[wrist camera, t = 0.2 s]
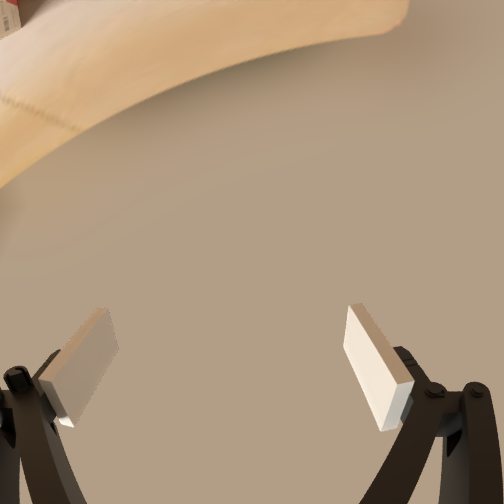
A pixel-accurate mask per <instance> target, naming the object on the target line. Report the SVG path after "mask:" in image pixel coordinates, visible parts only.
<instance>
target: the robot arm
mask: <svg viewBox="0 0 504 504" xmlns="http://www.w3.org/2000/svg"><path fill="white" fill-rule="evenodd" d="M343 347H344V350H345V352H346V354H347V356H348V358H349V361H350V363H351V365H352V367H353V369H354V372H355V374H356V376H357V378H358V381H359V383H360V385H361V387H362V389H363V392H364V394H365V397H366V399H367V401H368V403H369V406H370V408H371V410H372V413H373V415H374V417H375V420H376V422H377V424H378V427H379V429H380V431H381V432H382V431H386V430H391V429H395V428H397V426H398V424H399V421H400V419H401V421H402V423H403V426H402V428H401V431H400V432H399V434H398V436H397V439H396V441H395V442H394V445H393V446H392V448H391V451H390V452H389V455H388V456H387V458H386V460H385V461H384V463H383V465H382V467H381V469H380V470H379V472H378V474H377V476H376V477H375V479H374V481H373V482H372V484H371V486H370V487H369V489H368V490H367V492H366V494H365V495H364V497H363V499H362V500H361V501H360V503H359V504H407V503H408V501H409V499H410V497H411V495H412V493H413V491H414V489H415V486H416V484H417V482H418V480H419V477H420V475H421V472H422V470H423V468H424V465H425V463H426V460H427V458H428V455H429V453H430V450H431V447H432V445H433V442H434V439H435V437H443V454H442V472H441V485H440V496H439V504H503V479H502V467H501V456H500V447H499V440H498V432H497V426H496V420H495V414H494V409H493V404H492V399H491V395H490V391H489V389H488V388H487V387H486V386H485V385H484V384H482V383H479V382H470V383H468V384H466V386H465V387H464V389H463V391H461V392H460V391H457V392H449V391H447V390H446V388H445V387H444V386H442V385H441V384H439V383H436V382H431V381H430V380H429V378H428V377H427V376H426V374H425V373H424V371H423V370H422V368H421V367H420V366H419V365H418V363H417V361H416V360H414V357H413V356H412V355H411V353H410V352H409V351H408V350H406V349H405V348H403V347H402V346H399V347H392V346H391V345H390V343H389V341H388V340H387V339H386V337H385V336H384V334H383V333H382V331H381V330H380V328H379V327H378V325H377V324H376V323H375V321H374V320H373V318H372V317H371V316H370V314H369V313H368V311H367V310H366V308H365V307H364V306H363V304H349V308H348V316H347V324H346V331H345V338H344V346H343ZM118 350H119V348H118V344H117V341H116V337H115V333H114V329H113V325H112V321H111V317H110V313H109V309H108V308H97V309H96V310H95V311H94V312H93V313H92V314H91V316H90V317H89V318H88V319H87V320H86V321H85V323H84V324H83V325H82V326H81V327H80V328H79V329H78V331H77V332H76V333H75V334H74V335H73V336H72V338H71V339H70V340H69V341H68V342H67V344H66V345H65V346H64V347H63V348H62V350H60V349H59V350H57V351H56V352H54V353H53V354H51V355H50V356H49V358H48V359H47V360H46V362H45V363H44V364H43V365H42V366H41V367H40V368H39V370H38V371H37V372H36V373H35V375H34V376H33V377H32V378H31V377H30V375H29V373H28V370H27V368H26V367H24V366H15V367H12V368H10V369H9V370H7V371H6V372H5V374H4V377H3V378H4V380H5V382H6V384H7V386H8V388H9V390H1V388H0V504H20V502H19V501H20V499H19V472H20V458H21V462H22V466H23V471H24V475H25V479H26V482H27V486H28V490H29V493H30V496H31V500H32V503H33V504H87V503H86V501H85V499H84V497H83V494H82V492H81V490H80V488H79V486H78V483H77V481H76V479H75V476H74V474H73V471H72V469H71V466H70V464H69V461H68V459H67V456H66V454H65V451H64V448H63V445H62V443H61V439H60V436H59V433H58V430H57V427H56V425H55V423H54V421H53V420H54V419H55V417H56V415H57V417H58V419H59V421H60V422H61V424H63V425H66V426H70V427H75V426H76V424H77V422H78V420H79V418H80V416H81V415H82V413H83V411H84V409H85V407H86V405H87V404H88V402H89V400H90V398H91V396H92V395H93V393H94V391H95V389H96V388H97V385H98V384H99V382H100V381H101V378H102V377H103V375H104V373H105V372H106V370H107V368H108V367H109V365H110V363H111V362H112V360H113V358H114V356H115V355H116V353H117V351H118Z"/></svg>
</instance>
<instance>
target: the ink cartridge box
mask: <svg viewBox="0 0 504 504" xmlns="http://www.w3.org/2000/svg"><path fill="white" fill-rule="evenodd" d="M20 29H21V22H20V16H19V10H18V3H17V0H0V40H1V39H3V38H4V37H6V36H8V35H10V34H12V33H14V32H16V31H18V30H20Z"/></svg>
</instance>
